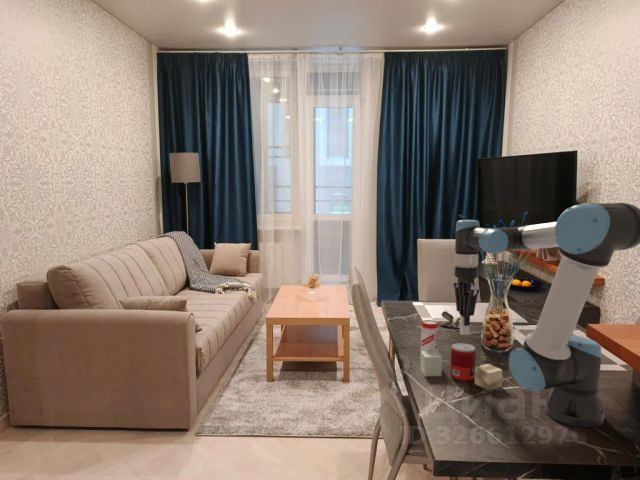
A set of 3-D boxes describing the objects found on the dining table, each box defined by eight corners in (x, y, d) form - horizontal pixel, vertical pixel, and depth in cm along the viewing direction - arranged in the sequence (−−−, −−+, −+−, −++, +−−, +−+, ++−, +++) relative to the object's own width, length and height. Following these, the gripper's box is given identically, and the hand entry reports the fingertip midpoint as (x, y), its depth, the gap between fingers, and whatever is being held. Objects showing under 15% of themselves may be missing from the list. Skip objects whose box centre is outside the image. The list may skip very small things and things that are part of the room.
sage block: (441, 376, 170) (442, 356, 169) (424, 376, 170) (424, 357, 169) (436, 369, 176) (437, 350, 175) (420, 369, 176) (420, 351, 175)
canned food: (475, 382, 164) (476, 351, 163) (451, 380, 166) (452, 349, 165) (473, 373, 172) (474, 343, 170) (449, 372, 173) (450, 342, 172)
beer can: (434, 368, 177) (435, 325, 175) (417, 364, 180) (418, 322, 178) (439, 362, 182) (441, 321, 180) (423, 359, 185) (424, 318, 183)
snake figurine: (460, 322, 230) (441, 316, 234) (461, 312, 225) (442, 306, 229) (455, 334, 225) (436, 328, 229) (457, 324, 220) (437, 318, 224)
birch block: (501, 387, 161) (502, 369, 160) (488, 390, 158) (489, 373, 157) (487, 380, 166) (488, 363, 165) (474, 384, 163) (475, 366, 163)
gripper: (487, 268, 158) (484, 338, 161) (466, 262, 171) (465, 327, 174) (465, 269, 157) (464, 340, 159) (447, 263, 170) (445, 329, 172)
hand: (464, 333), depth 167 cm, fingers closed
